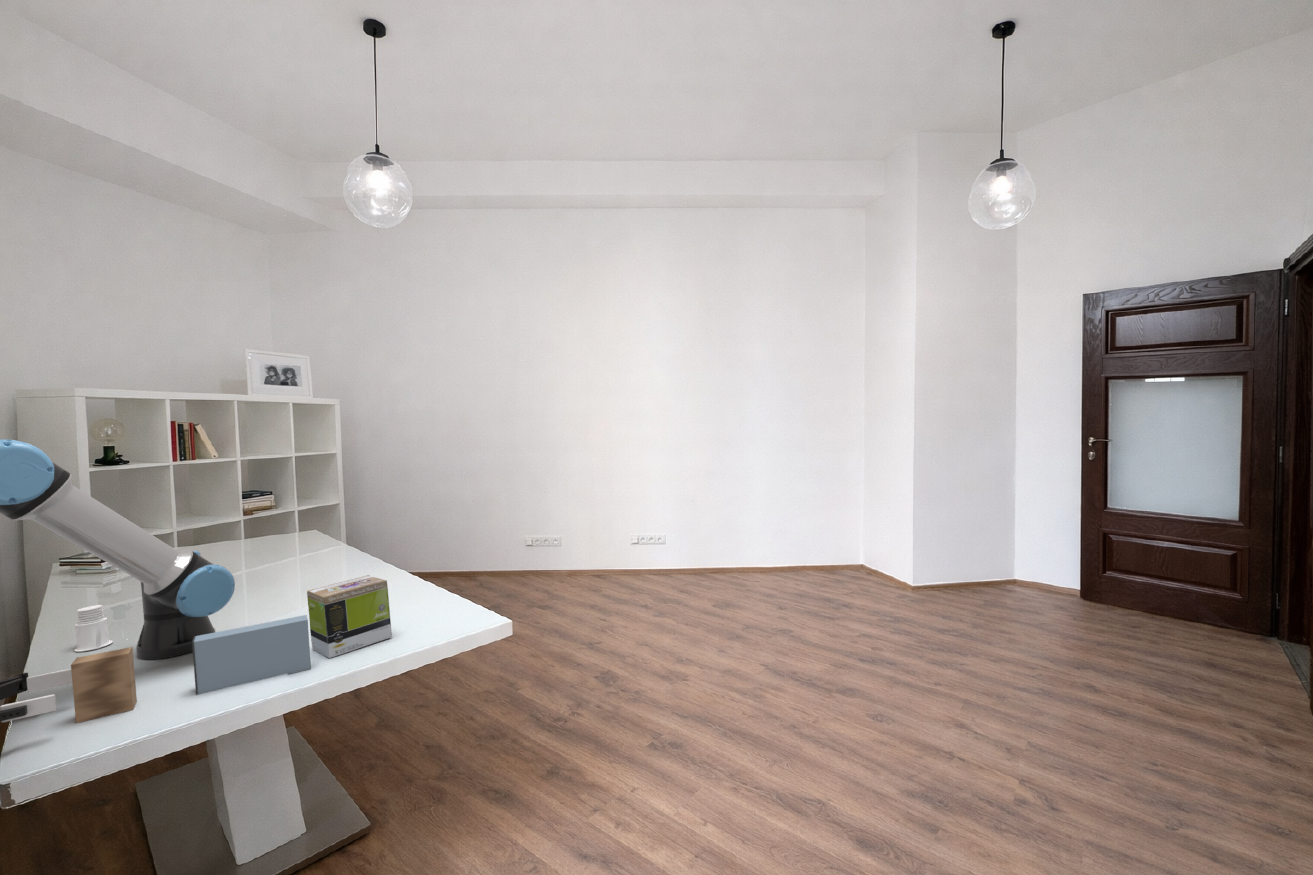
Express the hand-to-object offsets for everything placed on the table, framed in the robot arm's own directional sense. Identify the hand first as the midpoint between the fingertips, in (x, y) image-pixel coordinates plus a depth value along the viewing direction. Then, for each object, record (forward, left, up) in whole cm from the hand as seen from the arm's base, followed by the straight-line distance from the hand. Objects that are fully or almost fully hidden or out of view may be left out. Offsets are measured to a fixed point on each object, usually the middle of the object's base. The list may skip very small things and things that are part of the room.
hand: (65, 687), depth 110 cm
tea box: (-31, +38, -7) cm, 49 cm away
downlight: (-40, -29, -7) cm, 50 cm away
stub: (-3, +5, -6) cm, 8 cm away
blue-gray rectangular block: (-15, +25, -7) cm, 30 cm away
